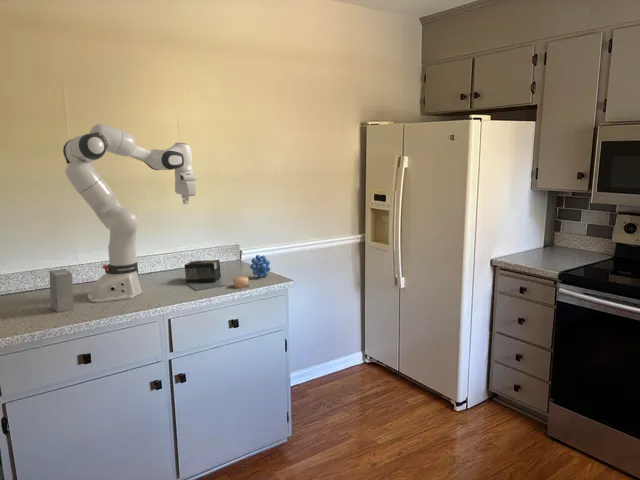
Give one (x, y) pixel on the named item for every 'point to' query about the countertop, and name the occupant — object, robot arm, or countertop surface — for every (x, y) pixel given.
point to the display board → (205, 285)
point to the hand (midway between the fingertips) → (185, 203)
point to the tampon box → (202, 271)
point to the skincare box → (61, 290)
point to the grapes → (260, 266)
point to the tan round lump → (241, 282)
